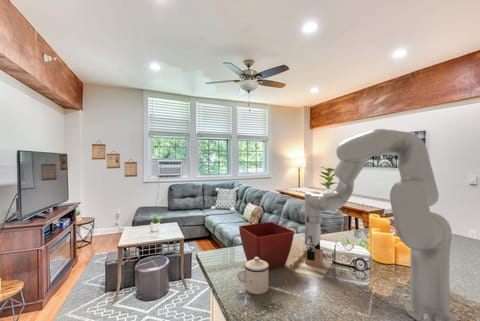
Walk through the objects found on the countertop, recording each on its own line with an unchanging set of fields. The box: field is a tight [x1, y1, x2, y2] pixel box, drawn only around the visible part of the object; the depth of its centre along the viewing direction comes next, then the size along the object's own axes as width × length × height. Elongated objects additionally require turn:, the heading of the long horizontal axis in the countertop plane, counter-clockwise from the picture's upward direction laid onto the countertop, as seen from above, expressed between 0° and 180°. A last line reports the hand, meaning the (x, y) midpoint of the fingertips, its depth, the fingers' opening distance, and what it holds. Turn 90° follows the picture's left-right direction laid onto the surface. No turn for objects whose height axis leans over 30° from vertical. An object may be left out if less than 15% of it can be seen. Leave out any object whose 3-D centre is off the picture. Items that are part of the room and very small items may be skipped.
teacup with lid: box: [236, 257, 270, 295], centre depth 91 cm, size 12×9×12 cm
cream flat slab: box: [289, 249, 333, 279], centre depth 109 cm, size 21×14×3 cm, turn 148°
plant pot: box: [238, 221, 295, 271], centre depth 111 cm, size 19×19×17 cm
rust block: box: [304, 247, 324, 267], centre depth 111 cm, size 7×4×6 cm, turn 58°
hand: (313, 256), depth 111 cm, fingers open, 9 cm apart
